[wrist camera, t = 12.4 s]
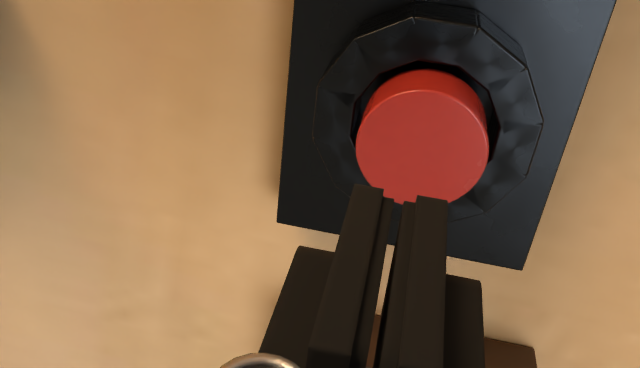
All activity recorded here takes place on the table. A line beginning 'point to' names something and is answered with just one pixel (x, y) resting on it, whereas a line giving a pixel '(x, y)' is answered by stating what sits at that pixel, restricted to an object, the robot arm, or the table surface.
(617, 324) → the table surface
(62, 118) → the table surface
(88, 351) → the table surface
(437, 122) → the button
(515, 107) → the button block
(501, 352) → the panel
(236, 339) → the table surface
